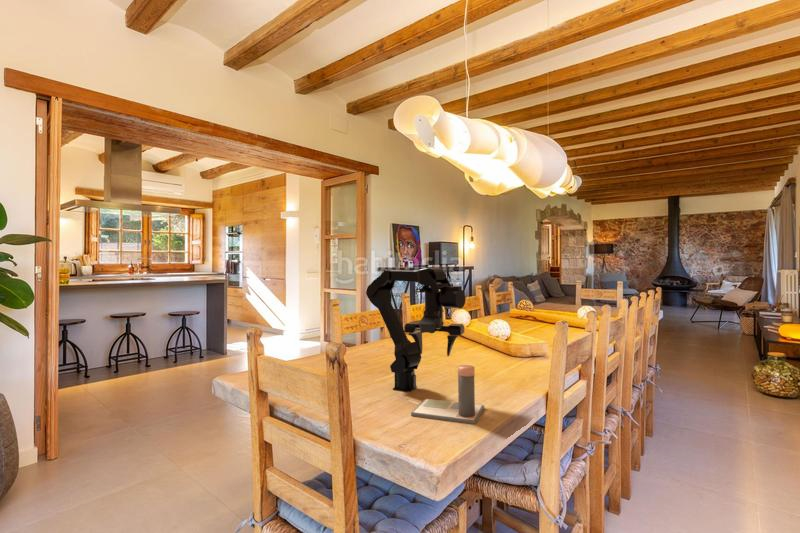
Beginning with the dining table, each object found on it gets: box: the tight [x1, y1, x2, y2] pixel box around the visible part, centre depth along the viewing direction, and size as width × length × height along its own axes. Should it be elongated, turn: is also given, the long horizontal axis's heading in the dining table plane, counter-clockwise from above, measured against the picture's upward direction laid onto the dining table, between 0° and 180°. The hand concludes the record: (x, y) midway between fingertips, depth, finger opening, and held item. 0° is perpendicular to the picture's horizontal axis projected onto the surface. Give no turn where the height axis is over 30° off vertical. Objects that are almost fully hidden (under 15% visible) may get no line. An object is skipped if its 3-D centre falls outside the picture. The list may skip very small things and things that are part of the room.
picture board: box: [410, 398, 485, 425], centre depth 118 cm, size 18×13×1 cm
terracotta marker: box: [457, 364, 476, 417], centre depth 113 cm, size 5×5×13 cm
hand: (434, 355), depth 133 cm, fingers open, 9 cm apart
